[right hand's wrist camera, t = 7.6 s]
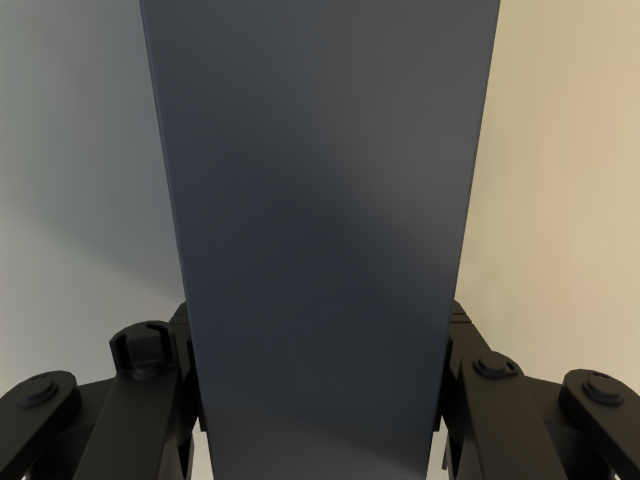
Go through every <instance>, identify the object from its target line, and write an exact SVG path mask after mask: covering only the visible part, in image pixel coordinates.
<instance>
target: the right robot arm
mask: <svg viewBox="0 0 640 480" xmlns="http://www.w3.org/2000/svg"><path fill="white" fill-rule="evenodd" d="M109 344H110V348H111V352H112V356H113V359H114V363H115V367H116V371H117V374H116V376H115V377H114V378H110V379H107V380H103V381H98V382H94V383H89V384H84V385H80V386H78V384H77V381H76V378H75V376H74V375H72V374H71V373H70V372H66V371H52V372H46V373H42V374H39V375H36V376H33V377H31V378H29V379H27V380H25V381H23V382H21V383H19V384H18V385H16V386H15V387H14V388H12V389H11V390H10V391H8V392H7V393H6V394H5V395H4V396H3V397H1V398H0V480H21V479H22V478H23V477H24V476H25V477H26V479H25V480H191V474H192V465H193V455H194V441H193V434H192V430H193V428H194V425H195V423H196V420H197V417H199V423H200V430H201V432H206V427H205V420H204V414H203V407H202V401H201V394H200V388H199V382H198V375H197V369H196V362H195V356H194V349H193V343H192V336H191V330H190V324H189V317H188V311H187V304H186V301H185V302H184V303H182V304H181V305H180V306H179V308H178V309H177V311H176V312H175V314H174V317H172V318H171V320H170V321H169V323H167V322H164V321H145V322H140V323H136V324H134V325H131V326H129V327H126V328H124V329H123V330H121V331H120V332H118V333H117V334H115V335H114V336H113V338H112V339H111V340H110V341H109ZM441 416H443V419H444V421H445V424H446V427H447V429H448V434H447V440H446V446H445V452H444V457H443V464H442V469H443V470H447V465H448V473H449V480H616V479H615V477H614V476H615V474H617V476H618V477H619V478H620V479H621V480H640V396H639V395H638V394H636V393H635V392H634V391H633V390H632V389H630V388H629V387H628V386H626V385H625V384H624V383H622V382H621V381H619V380H617V379H615V378H613V377H611V376H609V375H606V374H603V373H600V372H597V371H593V370H585V369H577V370H571V371H569V372H568V373H567V374H566V375H565V377H564V380H563V383H562V384H558V383H553V382H549V381H544V380H540V379H535V378H532V377H528V376H525V375H524V373H523V371H522V370H521V369H520V367H519V366H518V364H516V363H515V362H514V361H513V360H511V359H510V358H509V357H507V356H504V355H502V354H500V353H498V352H495V351H491V349H490V348H489V346H488V345H487V343H486V342H485V340H484V339H483V337H482V336H481V335H480V333H479V332H478V330H477V329H476V327H475V326H474V324H472V321H471V320H470V318H469V317H468V315H466V313H465V311H464V310H463V308H462V307H461V305H460V304H459V303H458V302H457V301H455V300H454V303H453V309H452V316H451V322H450V328H449V335H448V341H447V348H446V354H445V361H444V367H443V373H442V380H441V386H440V393H439V399H438V406H437V412H436V418H435V425H434V431H433V432H439V428H440V422H441Z"/></svg>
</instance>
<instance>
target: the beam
mask: <svg viewBox="0 0 640 480" xmlns="http://www.w3.org/2000/svg"><path fill="white" fill-rule="evenodd" d="M139 1H140V8H141V14H142V20H143V27H144V33H145V40H146V46H147V53H148V59H149V66H150V72H151V78H152V85H153V91H154V98H155V104H156V111H157V117H158V124H159V130H160V137H161V143H162V149H163V156H164V162H165V169H166V175H167V182H168V188H169V195H170V201H171V207H172V214H173V220H174V227H175V233H176V240H177V246H178V253H179V259H180V265H181V272H182V278H183V285H184V291H185V298H186V304H187V311H188V317H189V324H190V330H191V336H192V343H193V349H194V356H195V362H196V369H197V375H198V382H199V388H200V394H201V401H202V407H203V414H204V420H205V427H206V433H207V440H208V446H209V452H210V459H211V465H212V472H213V478H214V480H426V476H427V470H428V463H429V457H430V451H431V444H432V438H433V431H434V425H435V418H436V412H437V406H438V399H439V393H440V386H441V380H442V373H443V367H444V361H445V354H446V348H447V341H448V335H449V328H450V322H451V316H452V309H453V303H454V296H455V290H456V283H457V277H458V271H459V264H460V258H461V251H462V245H463V238H464V232H465V226H466V219H467V213H468V206H469V200H470V193H471V187H472V181H473V174H474V168H475V161H476V155H477V148H478V142H479V136H480V129H481V123H482V116H483V110H484V103H485V97H486V91H487V84H488V78H489V71H490V65H491V58H492V52H493V46H494V39H495V33H496V26H497V20H498V13H499V7H500V1H501V0H139Z"/></svg>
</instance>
